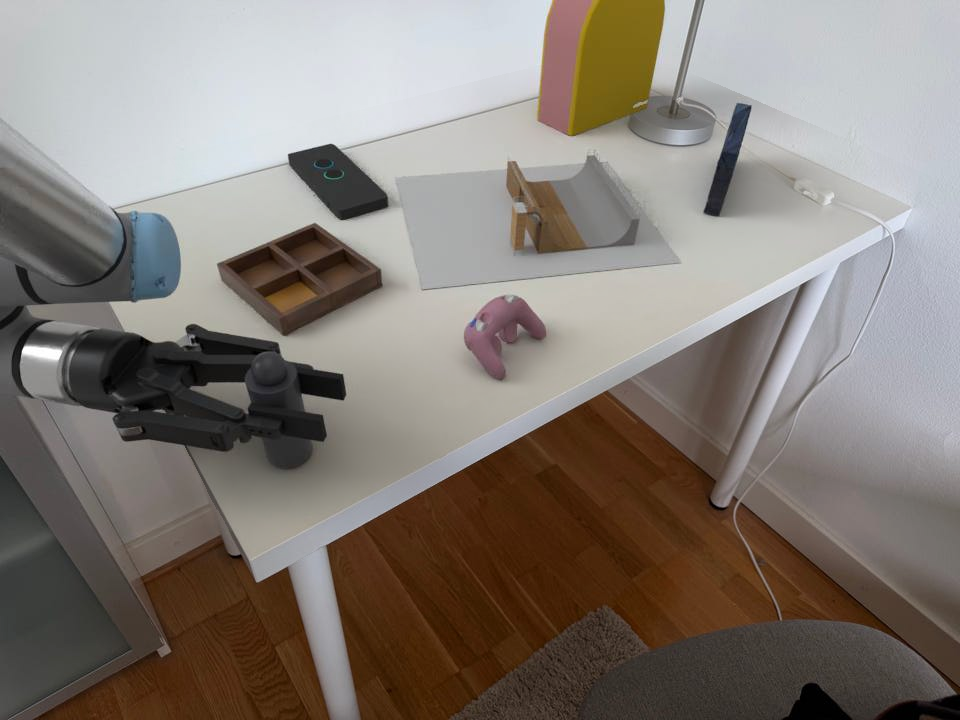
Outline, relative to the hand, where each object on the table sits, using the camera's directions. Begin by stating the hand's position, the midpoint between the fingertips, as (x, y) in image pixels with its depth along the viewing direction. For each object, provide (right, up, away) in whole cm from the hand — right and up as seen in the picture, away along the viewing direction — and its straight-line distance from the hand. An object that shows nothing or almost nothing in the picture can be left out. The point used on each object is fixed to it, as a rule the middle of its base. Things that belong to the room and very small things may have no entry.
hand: (333, 407), depth 61 cm
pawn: (-5, -5, +6) cm, 9 cm away
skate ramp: (+20, +25, +39) cm, 50 cm away
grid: (-9, +14, +26) cm, 31 cm away
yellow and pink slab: (+34, +50, +66) cm, 90 cm away
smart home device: (-9, +31, +45) cm, 55 cm away
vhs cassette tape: (+50, +31, +47) cm, 76 cm away
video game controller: (+16, +5, +18) cm, 24 cm away
